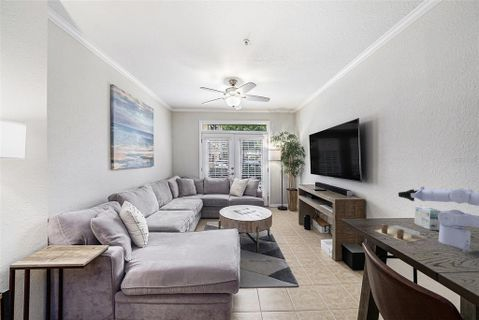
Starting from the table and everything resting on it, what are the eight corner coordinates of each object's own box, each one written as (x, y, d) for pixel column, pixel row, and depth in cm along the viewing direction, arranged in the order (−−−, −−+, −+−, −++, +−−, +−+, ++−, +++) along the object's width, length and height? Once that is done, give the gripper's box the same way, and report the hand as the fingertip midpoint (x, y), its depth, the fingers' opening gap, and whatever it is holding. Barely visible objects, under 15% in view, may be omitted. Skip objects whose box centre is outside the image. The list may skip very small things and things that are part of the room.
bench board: (426, 240, 101) (427, 229, 100) (407, 244, 94) (408, 233, 94) (392, 229, 114) (393, 219, 114) (373, 232, 107) (374, 222, 107)
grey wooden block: (419, 236, 102) (419, 232, 102) (411, 238, 99) (411, 233, 99) (396, 229, 111) (397, 225, 111) (388, 230, 108) (388, 226, 108)
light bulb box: (441, 230, 116) (443, 210, 115) (429, 230, 116) (430, 210, 115) (425, 224, 126) (426, 205, 126) (413, 223, 126) (414, 205, 126)
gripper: (442, 186, 104) (410, 186, 116) (425, 187, 98) (393, 187, 110) (443, 200, 103) (411, 199, 116) (427, 202, 97) (395, 200, 110)
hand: (403, 194), depth 113 cm, fingers open, 7 cm apart
